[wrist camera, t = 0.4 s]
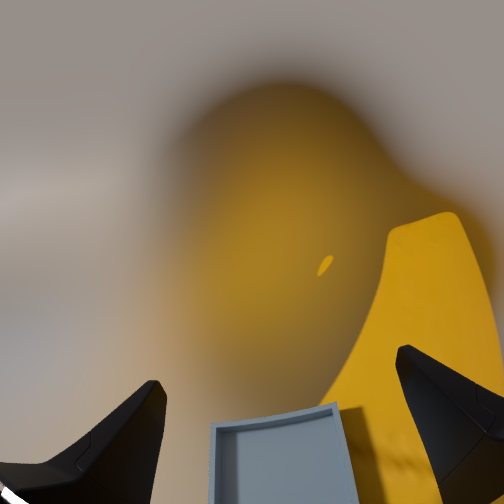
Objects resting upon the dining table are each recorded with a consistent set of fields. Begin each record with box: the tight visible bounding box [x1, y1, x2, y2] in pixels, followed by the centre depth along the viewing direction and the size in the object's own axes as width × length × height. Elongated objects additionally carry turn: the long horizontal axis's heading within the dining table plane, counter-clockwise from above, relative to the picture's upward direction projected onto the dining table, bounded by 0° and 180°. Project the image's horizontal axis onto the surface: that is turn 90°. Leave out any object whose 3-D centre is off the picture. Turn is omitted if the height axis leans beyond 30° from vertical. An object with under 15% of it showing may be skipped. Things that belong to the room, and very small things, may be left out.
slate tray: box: [208, 402, 359, 504], centre depth 16 cm, size 11×11×2 cm
